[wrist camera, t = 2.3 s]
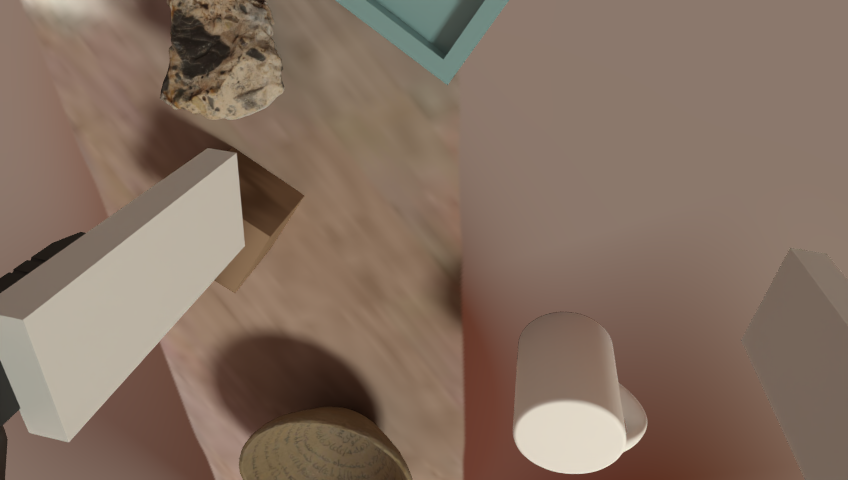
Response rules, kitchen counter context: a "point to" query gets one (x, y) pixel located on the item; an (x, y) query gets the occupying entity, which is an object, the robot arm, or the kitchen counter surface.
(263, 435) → the bowl
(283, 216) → the walnut cube
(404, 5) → the tray
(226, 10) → the rock
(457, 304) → the kitchen counter surface
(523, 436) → the mug
